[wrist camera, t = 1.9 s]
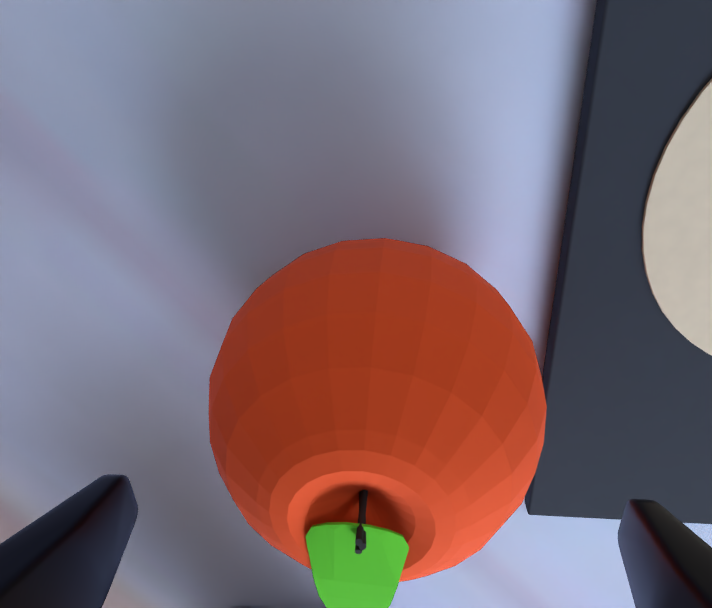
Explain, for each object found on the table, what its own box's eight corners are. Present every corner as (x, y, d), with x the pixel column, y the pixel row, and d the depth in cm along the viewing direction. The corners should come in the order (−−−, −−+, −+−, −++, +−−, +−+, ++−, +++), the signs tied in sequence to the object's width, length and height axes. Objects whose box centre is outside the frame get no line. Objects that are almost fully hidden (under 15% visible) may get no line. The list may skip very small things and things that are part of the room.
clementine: (486, 457, 15) (537, 735, 9) (269, 437, 16) (175, 685, 10) (534, 208, 12) (673, 376, 6) (253, 192, 12) (87, 329, 6)
